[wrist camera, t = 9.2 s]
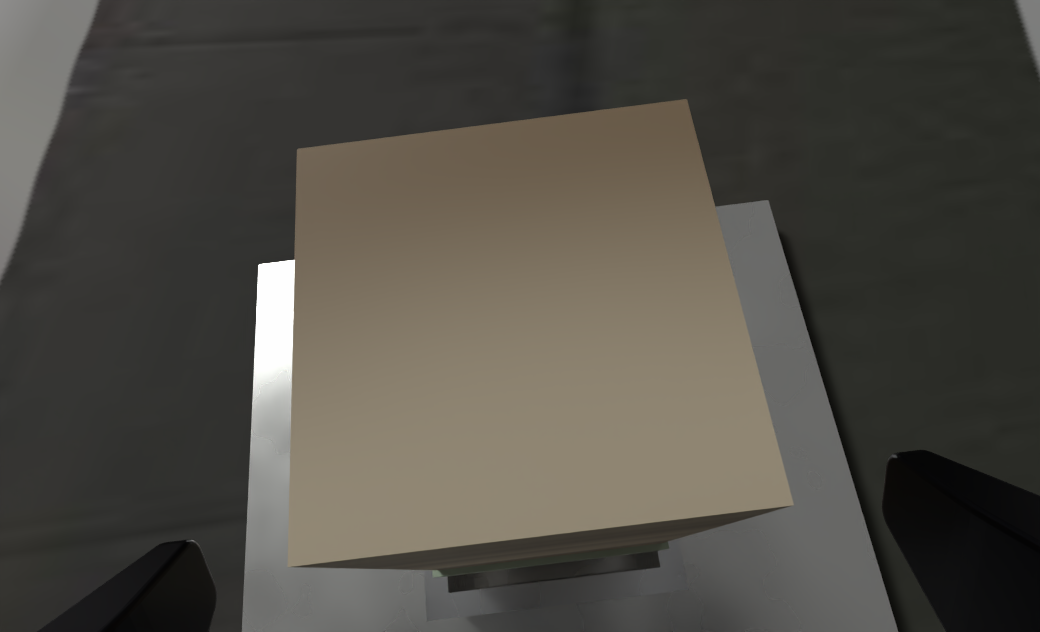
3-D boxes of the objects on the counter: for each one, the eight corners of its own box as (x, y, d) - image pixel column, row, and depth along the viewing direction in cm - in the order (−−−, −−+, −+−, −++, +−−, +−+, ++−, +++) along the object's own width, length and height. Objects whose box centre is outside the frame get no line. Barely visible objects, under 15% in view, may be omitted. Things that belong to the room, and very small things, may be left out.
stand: (931, 811, 17) (1116, 930, 11) (250, 892, 17) (99, 1048, 11) (757, 217, 24) (819, 107, 18) (272, 278, 24) (185, 188, 18)
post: (640, 554, 14) (812, 517, 5) (464, 576, 14) (274, 583, 5) (611, 384, 16) (695, 90, 6) (451, 404, 16) (287, 141, 6)
